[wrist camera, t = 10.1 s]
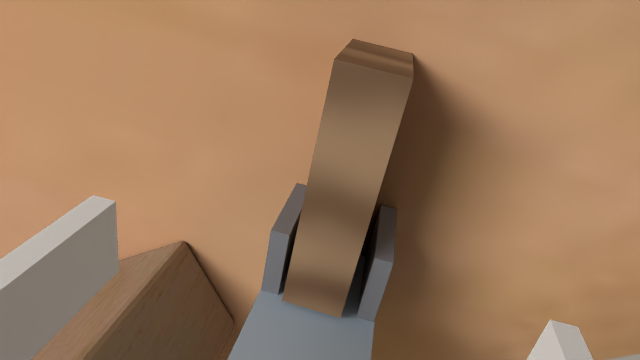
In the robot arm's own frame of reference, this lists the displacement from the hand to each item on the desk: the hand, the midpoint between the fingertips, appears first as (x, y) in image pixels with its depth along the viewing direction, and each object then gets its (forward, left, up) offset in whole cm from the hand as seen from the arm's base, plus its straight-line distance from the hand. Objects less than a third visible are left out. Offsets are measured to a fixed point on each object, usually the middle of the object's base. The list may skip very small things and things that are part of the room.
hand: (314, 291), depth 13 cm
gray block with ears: (+12, 0, -19) cm, 22 cm away
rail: (+3, 0, -19) cm, 20 cm away
